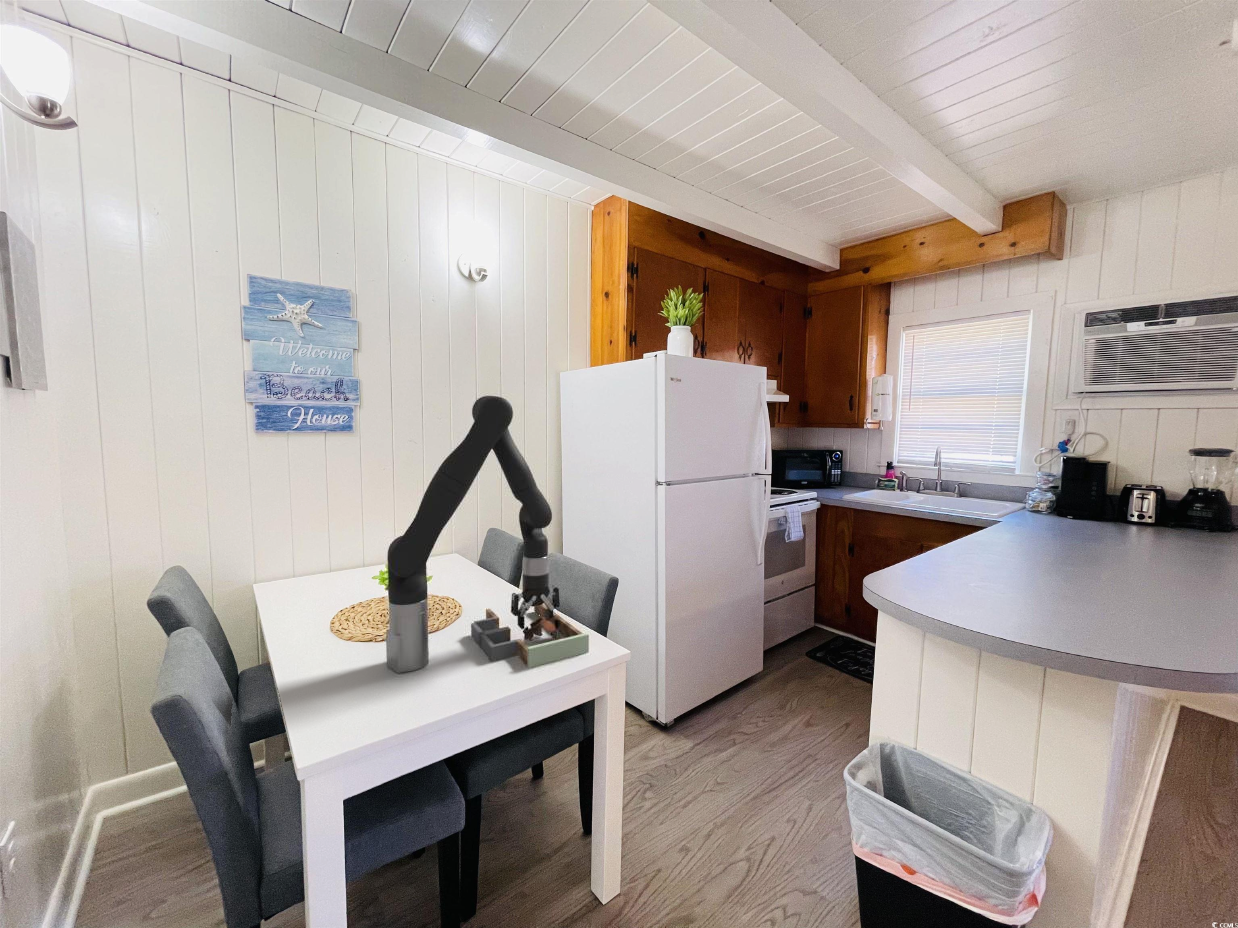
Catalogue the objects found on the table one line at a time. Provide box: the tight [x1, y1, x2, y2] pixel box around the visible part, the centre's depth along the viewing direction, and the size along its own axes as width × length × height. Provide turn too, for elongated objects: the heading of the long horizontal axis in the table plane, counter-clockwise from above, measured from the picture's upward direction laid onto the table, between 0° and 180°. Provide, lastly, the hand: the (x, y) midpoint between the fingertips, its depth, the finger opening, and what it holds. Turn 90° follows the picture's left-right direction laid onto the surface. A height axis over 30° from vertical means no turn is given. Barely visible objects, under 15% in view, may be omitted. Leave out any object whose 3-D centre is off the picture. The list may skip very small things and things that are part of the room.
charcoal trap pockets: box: [470, 617, 518, 663], centre depth 143 cm, size 19×7×4 cm, turn 32°
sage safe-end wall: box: [526, 632, 590, 669], centre depth 135 cm, size 1×17×5 cm, turn 123°
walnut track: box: [485, 603, 584, 666], centre depth 149 cm, size 34×17×4 cm, turn 32°
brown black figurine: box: [522, 617, 561, 642], centre depth 145 cm, size 12×10×8 cm
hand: (535, 624), depth 148 cm, fingers open, 8 cm apart
